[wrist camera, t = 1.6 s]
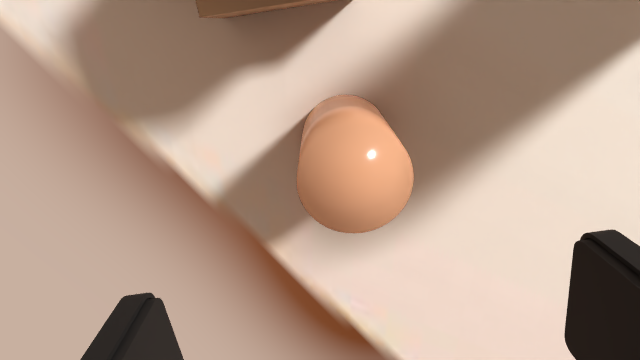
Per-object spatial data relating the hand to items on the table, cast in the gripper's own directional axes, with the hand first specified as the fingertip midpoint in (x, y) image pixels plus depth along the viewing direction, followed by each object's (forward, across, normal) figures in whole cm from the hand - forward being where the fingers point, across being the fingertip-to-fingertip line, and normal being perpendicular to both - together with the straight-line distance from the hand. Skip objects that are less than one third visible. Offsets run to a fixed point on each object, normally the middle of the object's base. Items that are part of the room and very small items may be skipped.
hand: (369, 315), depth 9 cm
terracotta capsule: (+16, -1, 0) cm, 16 cm away
